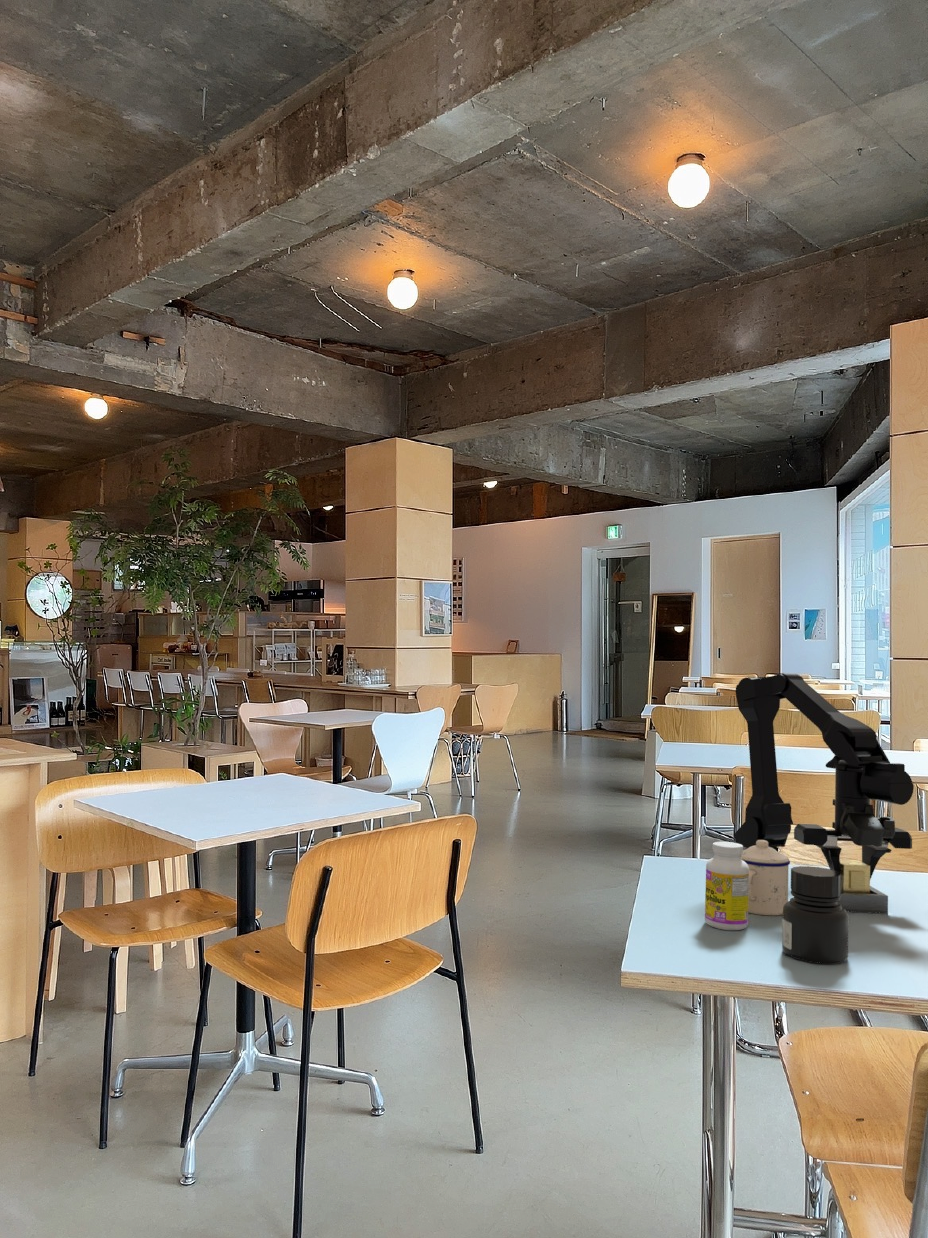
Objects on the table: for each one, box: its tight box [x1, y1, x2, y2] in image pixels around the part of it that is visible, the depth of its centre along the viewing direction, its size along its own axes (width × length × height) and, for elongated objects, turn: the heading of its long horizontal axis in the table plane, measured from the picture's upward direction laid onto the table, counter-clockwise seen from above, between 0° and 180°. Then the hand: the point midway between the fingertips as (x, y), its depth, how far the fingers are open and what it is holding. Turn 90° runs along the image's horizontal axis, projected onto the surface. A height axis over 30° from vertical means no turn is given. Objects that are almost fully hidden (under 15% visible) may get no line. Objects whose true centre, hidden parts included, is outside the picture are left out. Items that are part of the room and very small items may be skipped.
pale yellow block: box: [840, 859, 871, 894], centre depth 160 cm, size 4×6×5 cm
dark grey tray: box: [837, 885, 889, 915], centre depth 163 cm, size 9×15×3 cm, turn 179°
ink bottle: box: [781, 865, 850, 965], centre depth 131 cm, size 10×9×12 cm
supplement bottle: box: [704, 841, 749, 931], centre depth 145 cm, size 7×7×13 cm
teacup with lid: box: [741, 840, 791, 916], centre depth 155 cm, size 12×9×12 cm
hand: (851, 885), depth 160 cm, fingers closed on pale yellow block, 4 cm apart
